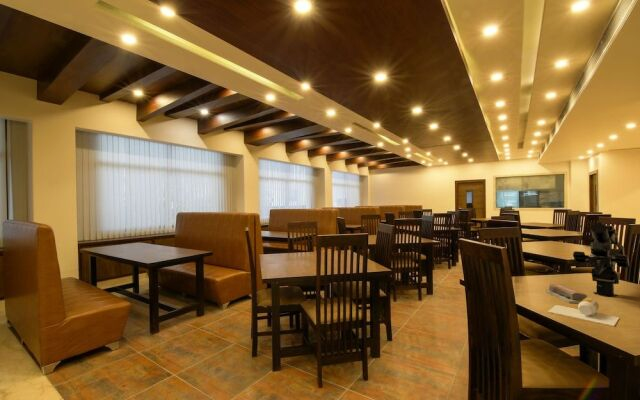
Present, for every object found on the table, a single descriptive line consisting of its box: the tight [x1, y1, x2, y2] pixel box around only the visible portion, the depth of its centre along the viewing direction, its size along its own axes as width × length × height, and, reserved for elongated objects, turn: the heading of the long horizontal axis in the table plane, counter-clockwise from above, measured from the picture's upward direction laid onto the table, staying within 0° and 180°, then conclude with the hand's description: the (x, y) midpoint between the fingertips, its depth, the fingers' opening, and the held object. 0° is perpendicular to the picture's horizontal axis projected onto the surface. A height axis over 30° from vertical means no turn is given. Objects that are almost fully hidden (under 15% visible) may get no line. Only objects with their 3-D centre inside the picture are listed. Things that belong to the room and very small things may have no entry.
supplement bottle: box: [577, 297, 600, 315], centre depth 122 cm, size 5×5×10 cm
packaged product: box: [545, 283, 588, 304], centre depth 144 cm, size 18×5×10 cm
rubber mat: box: [547, 304, 620, 327], centre depth 122 cm, size 12×20×1 cm, turn 39°
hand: (597, 273), depth 137 cm, fingers closed
